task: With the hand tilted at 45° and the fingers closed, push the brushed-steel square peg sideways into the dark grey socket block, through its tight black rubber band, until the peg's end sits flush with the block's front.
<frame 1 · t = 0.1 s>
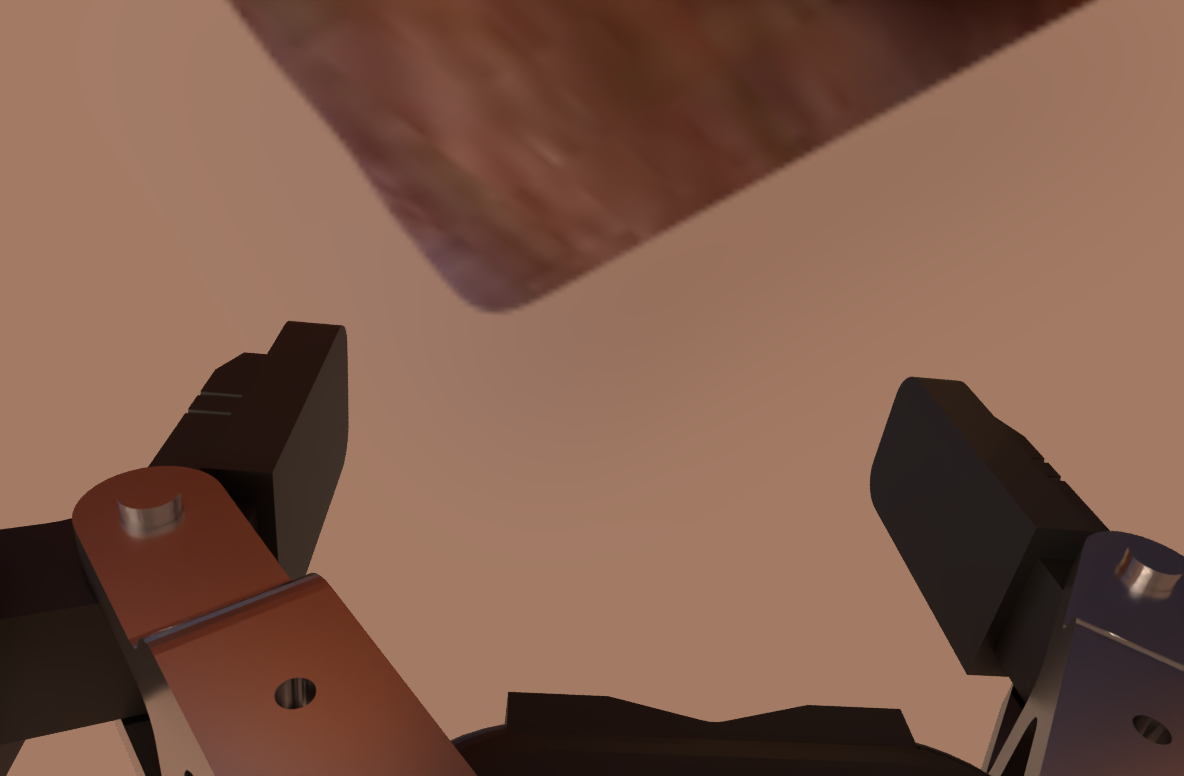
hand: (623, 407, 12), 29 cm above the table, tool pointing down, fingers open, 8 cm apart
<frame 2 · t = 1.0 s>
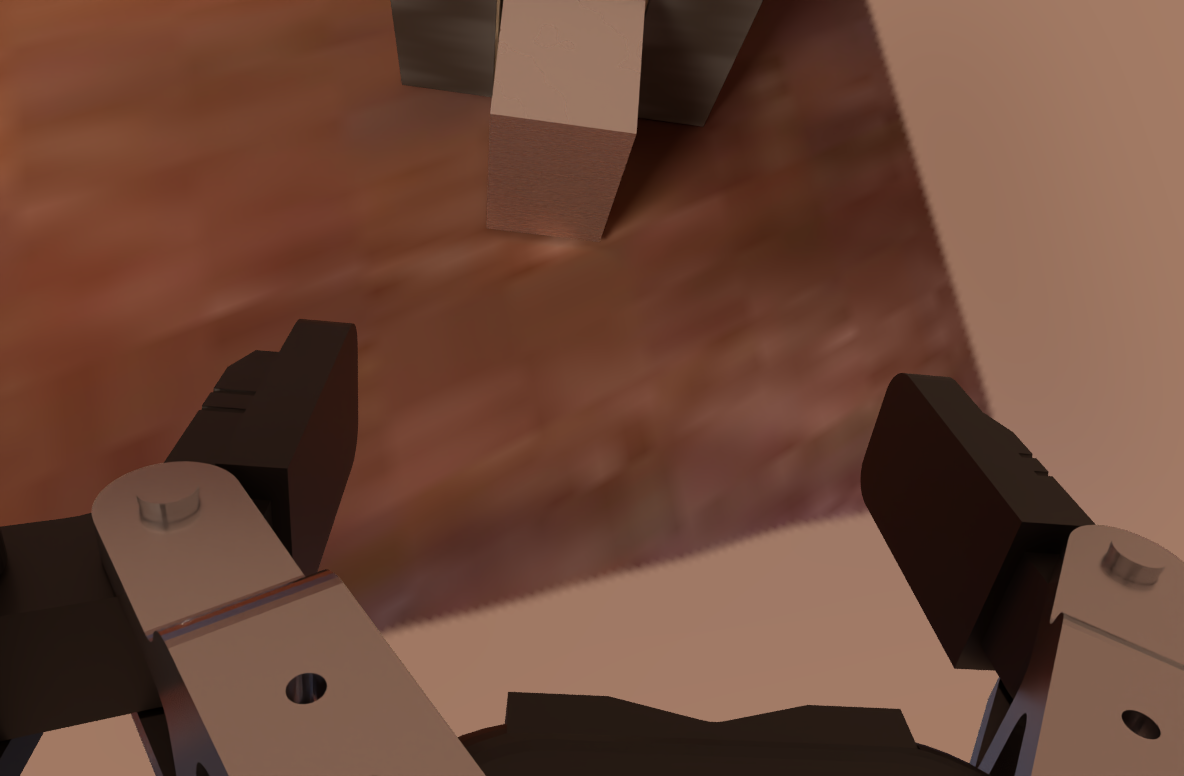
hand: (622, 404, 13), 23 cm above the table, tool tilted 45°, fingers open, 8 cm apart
peg: (564, 53, 35), point 5 cm above the table, slide at 7.0 cm
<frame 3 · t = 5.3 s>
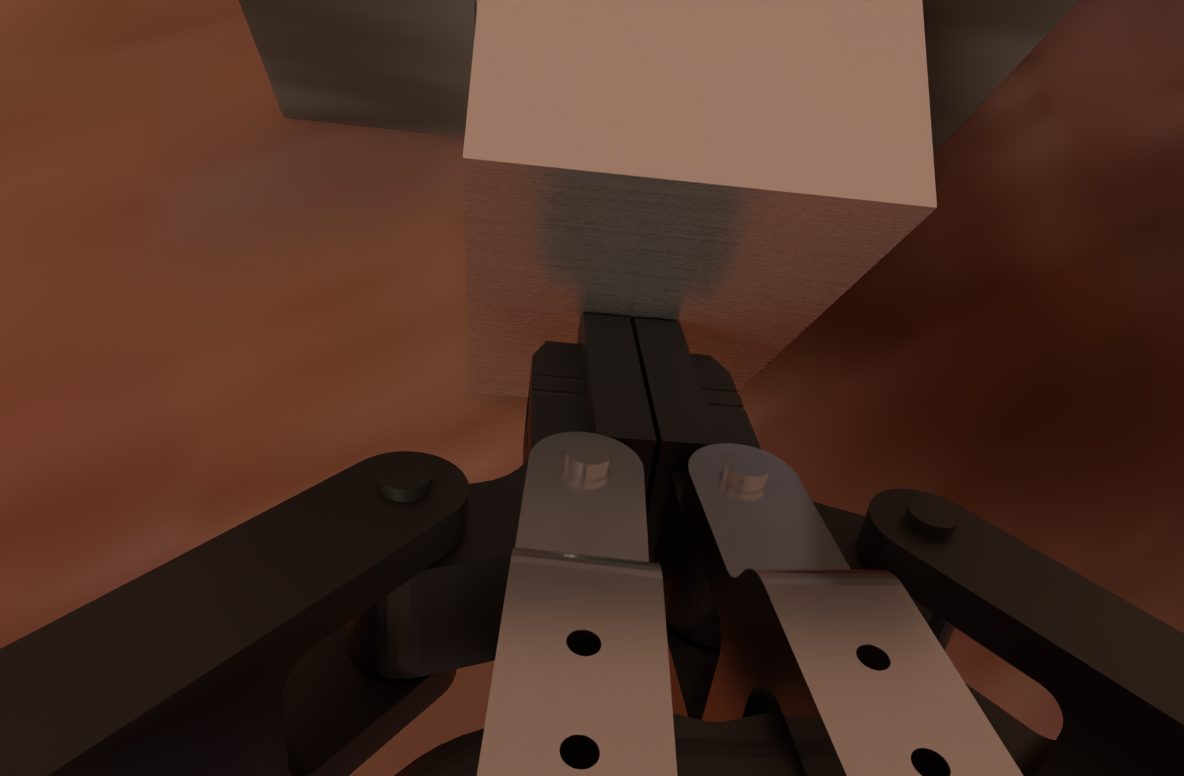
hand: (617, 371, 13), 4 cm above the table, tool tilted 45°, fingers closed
peg: (644, 0, 15), point 5 cm above the table, slide at 6.2 cm, touching gripper
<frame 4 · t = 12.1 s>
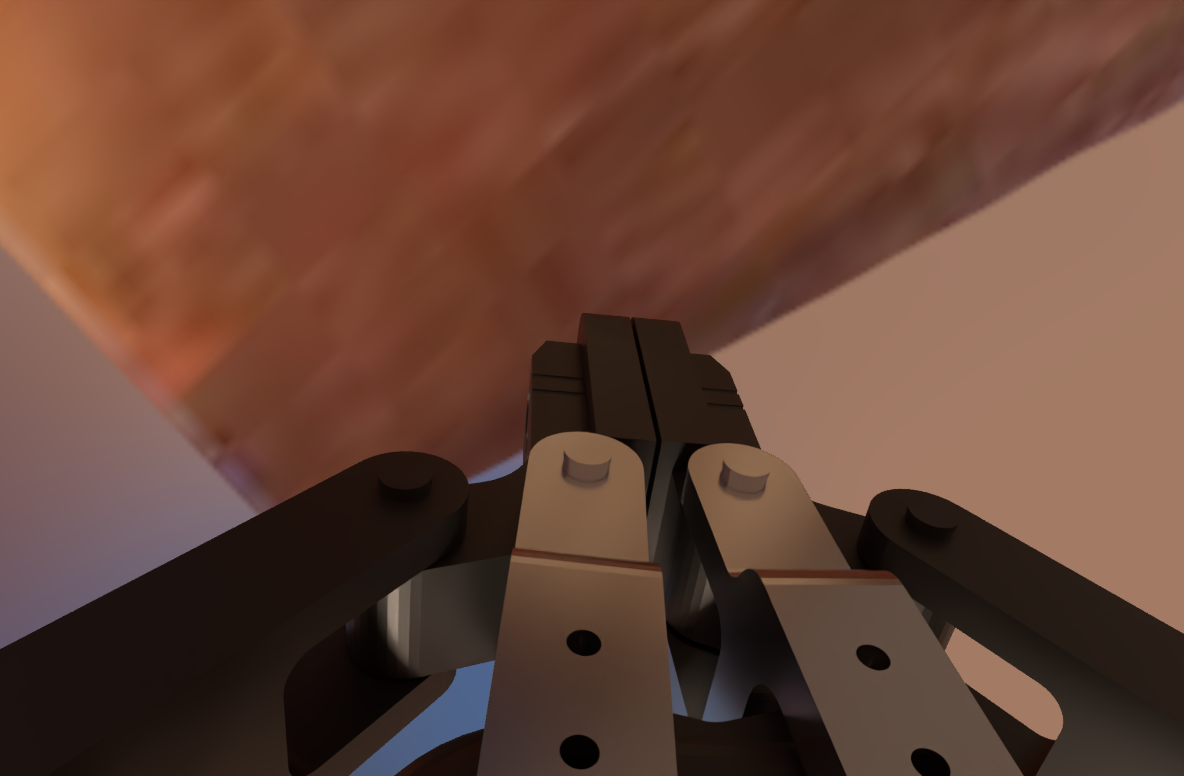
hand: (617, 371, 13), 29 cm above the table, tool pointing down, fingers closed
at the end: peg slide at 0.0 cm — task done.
